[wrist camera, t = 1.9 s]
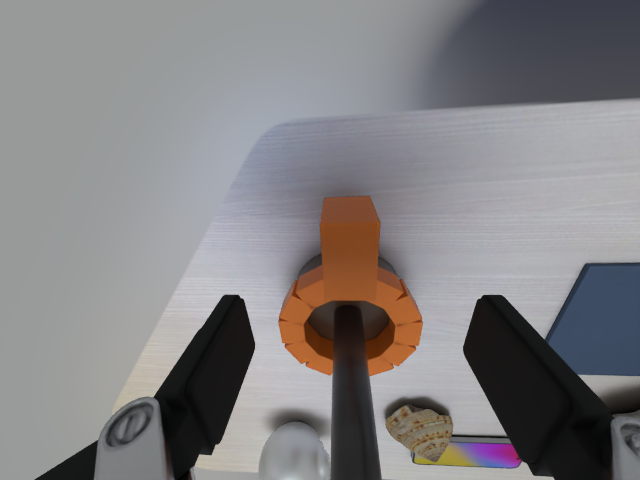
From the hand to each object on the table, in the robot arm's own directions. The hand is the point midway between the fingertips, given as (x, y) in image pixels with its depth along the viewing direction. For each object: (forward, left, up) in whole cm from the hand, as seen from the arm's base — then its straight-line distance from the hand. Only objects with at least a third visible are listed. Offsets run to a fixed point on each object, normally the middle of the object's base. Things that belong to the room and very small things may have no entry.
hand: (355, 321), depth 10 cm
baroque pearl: (+33, -7, -11) cm, 35 cm away
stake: (+8, 0, -11) cm, 13 cm away
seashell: (+29, +9, -11) cm, 32 cm away
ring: (+5, 0, -8) cm, 10 cm away
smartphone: (+37, +17, -11) cm, 42 cm away
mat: (+12, +27, -11) cm, 31 cm away
